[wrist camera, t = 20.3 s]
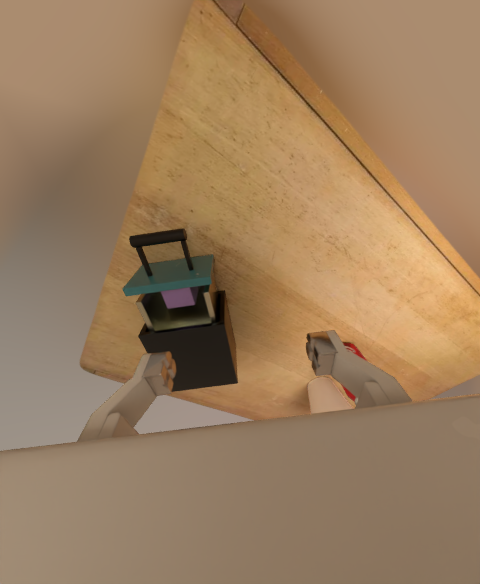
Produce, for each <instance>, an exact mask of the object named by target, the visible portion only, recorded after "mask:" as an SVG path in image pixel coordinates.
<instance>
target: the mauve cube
mask: <svg viewBox="0 0 480 584" xmlns="http://www.w3.org/2000/svg"><path fill="white" fill-rule="evenodd" d="M161 293H162V296H163V298H164V301H165V303H166V306H167V308H168V309H169V308H176V307H183V306H190V305H195V303H196V299H197V294H198V287H197V286H196V287H188V288H181V289H174V290H167V291H161Z"/></svg>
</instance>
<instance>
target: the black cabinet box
mask: <svg viewBox="0 0 480 584" xmlns="http://www.w3.org/2000/svg"><path fill="white" fill-rule="evenodd" d="M217 294H218V298H219V303H220V319H219V322H214V323H207V324H200V325H193V326H185V327H178V328H171V329H164V330H156V331H149V329H148V327H147V325H146V323H145V324H144V326H143V328H142V330H141V332H140V334H139V336H138V337H139V338H140V340H141V342H142V344H143V346H144V347H145V349H146V351H147V353H157V352H167V351H170V352H171V354H172V357H171V358H172V359H174V360H175V363H176V375H175V377H174V378H173V379H172V381H173V388H172V392H174V391H182V390H190V389H197V388H205V387H212V386H220V385H228V384H235V383H238V378H237V359H236V343H235V338H234V333H233V328H232V323H231V318H230V313H229V308H228V303H227V298H226V294H225V290H224V291H217Z"/></svg>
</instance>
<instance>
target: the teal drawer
mask: <svg viewBox="0 0 480 584" xmlns="http://www.w3.org/2000/svg"><path fill="white" fill-rule="evenodd" d="M129 240H130V244H131V246H132V247H133V248H136V250H137V252H138V255H139V257H140V259H141V262H142V264H143V265H142V266H141V267H140V268H139V270H138V271H137V272H136V273H135V274H134V276H133V277H132V278H131V279H130V280H129V282H128V283H127V284H126V285H125V286H124V288H123V289H122V290H123V291H124V293H125V295H126V296H132V295H139V294H141V295H140V297H139V298H138V300H137V301H136V305H137V307H138V309H139V311H140V313H141V315H142V317H143V319H144V321H145V323H146V325H147V327H148V329H149V331H156V330H164V329H171V328H178V327H185V326H193V325H200V324H207V323H214V322H219V319H220V303H219V298H218V294H217V289H216V285H215V280H214V276H213V270H214V262H215V260H214V255H213V254H212V255H205V256H198V257H190V253H189V250H188V246H187V243H186V240H187V234H186V231H185V229H184V228H182V229H175V230H169V231H162V232H155V233H148V234H142V235H135V236H130V238H129ZM177 241H181V245H182V248H183V251H184V255H185V258H184V259H177V260H171V261H164V262H157V263H150V264H148V261H147V259H146V256H145V254H144V251H143V249H142V247H143V246H150V245H156V244H163V243H170V242H177ZM196 286H197V287H198V294H197V299H196V303H195V305H190V306H183V307H176V308H169V309H168V308H167V306H166V303H165V301H164V298H163V296H162V293H161V291H167V290H174V289H181V288H188V287H196Z"/></svg>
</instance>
